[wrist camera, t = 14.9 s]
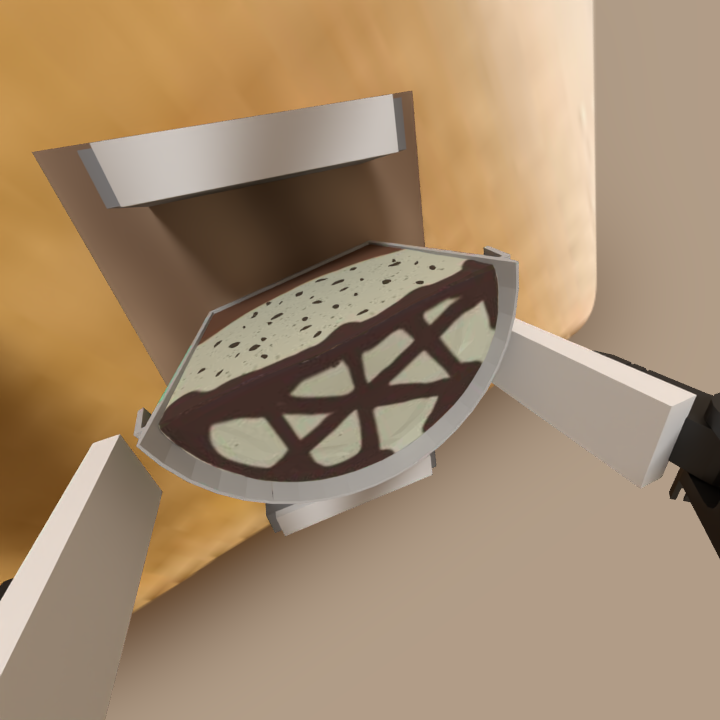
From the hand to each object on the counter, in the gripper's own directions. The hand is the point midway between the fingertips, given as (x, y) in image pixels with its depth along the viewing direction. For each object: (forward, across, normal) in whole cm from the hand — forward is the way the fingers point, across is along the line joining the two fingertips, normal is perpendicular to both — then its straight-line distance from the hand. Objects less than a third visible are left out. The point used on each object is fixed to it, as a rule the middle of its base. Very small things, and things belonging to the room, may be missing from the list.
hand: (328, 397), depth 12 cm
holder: (+9, 0, 0) cm, 9 cm away
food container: (+8, +1, 0) cm, 8 cm away
